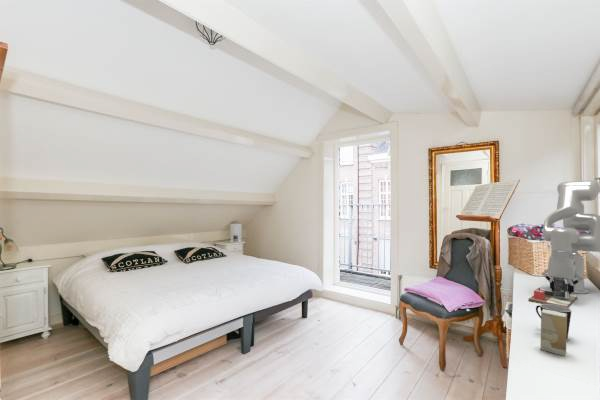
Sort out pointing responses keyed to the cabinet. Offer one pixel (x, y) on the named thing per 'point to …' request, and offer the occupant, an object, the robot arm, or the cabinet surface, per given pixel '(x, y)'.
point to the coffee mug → (557, 309)
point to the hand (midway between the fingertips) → (561, 291)
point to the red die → (539, 294)
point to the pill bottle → (561, 288)
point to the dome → (545, 288)
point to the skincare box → (553, 331)
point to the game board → (554, 299)
